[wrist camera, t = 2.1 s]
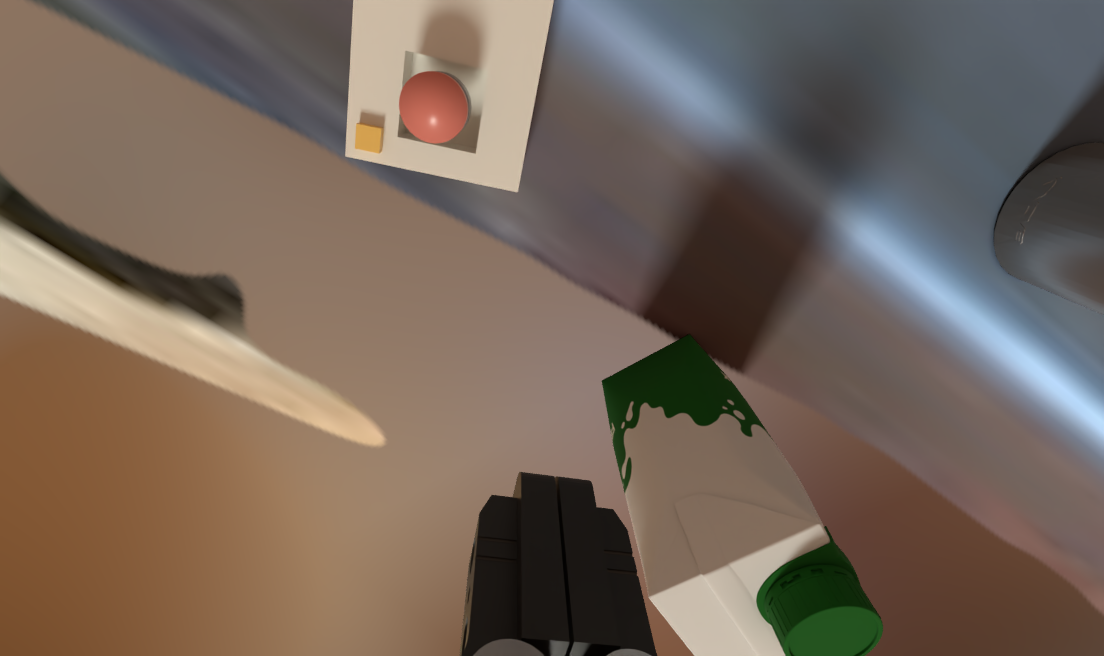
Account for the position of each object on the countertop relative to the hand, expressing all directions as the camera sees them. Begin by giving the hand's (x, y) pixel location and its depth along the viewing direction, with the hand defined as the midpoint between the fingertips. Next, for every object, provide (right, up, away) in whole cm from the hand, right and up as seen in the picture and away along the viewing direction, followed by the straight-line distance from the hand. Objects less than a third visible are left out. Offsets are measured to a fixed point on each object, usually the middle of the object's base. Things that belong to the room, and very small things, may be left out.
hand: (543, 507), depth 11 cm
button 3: (-5, +15, +15) cm, 22 cm away
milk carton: (+8, -1, +29) cm, 30 cm away
